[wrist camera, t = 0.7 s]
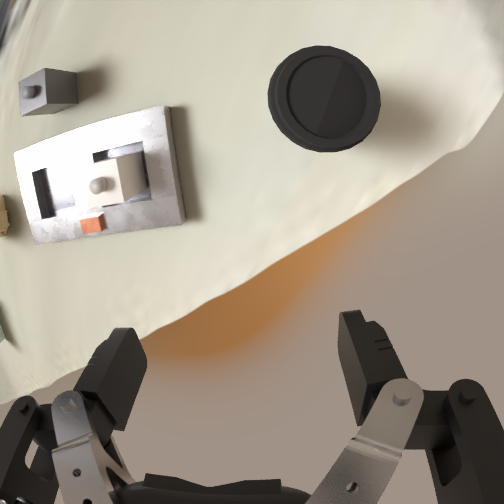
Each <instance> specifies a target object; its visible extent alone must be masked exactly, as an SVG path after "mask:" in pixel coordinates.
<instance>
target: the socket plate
mask: <svg viewBox="0 0 504 504" xmlns="http://www.w3.org/2000/svg"><path fill="white" fill-rule="evenodd" d="M139 151H141V155H142V161H143V167H144V173H145V179H146V184H147V188H145V189H144V190H142V191H141V192H139V193H138V194H136V195H134V196H133V197H131V198H130V199H128V200H127V201H125V202H122V203H117V204H111V205H105V206H100V207H94V208H89V209H88V204H87V200H86V195H85V191H84V186H83V181H82V176H81V171H80V167H83V166H86V165H89V164H92V163H95V162H98V161H101V160H105V159H108V158H112V157H116V156H121V155H125V154H130V153H134V152H139ZM14 156H15V162H16V168H17V173H18V178H19V183H20V188H21V193H22V197H23V201H24V205H25V209H26V213H27V217H28V221H29V225H30V228H31V232H32V235H33V238H34V242H35V245H36V244H43V243H49V242H56V241H62V240H69V239H76V238H83V237H90V236H97V235H105V234H112V233H120V232H127V231H135V230H143V229H152V228H160V227H169V226H177V225H182V224H183V223H184V221H185V220H186V213H185V208H184V202H183V196H182V190H181V183H180V177H179V171H178V164H177V157H176V150H175V143H174V136H173V128H172V121H171V113H170V107H168V106H160V107H155V108H151V109H147V110H142V111H138V112H134V113H130V114H126V115H123V116H119V117H115V118H112V119H108V120H105V121H101V122H98V123H95V124H91V125H88V126H85V127H82V128H79V129H76V130H73V131H70V132H67V133H64V134H62V135H59V136H56V137H54V138H51V139H48V140H46V141H43V142H41V143H38V144H36V145H33V146H31V147H28V148H26V149H24V150H21V151H19V152H17V153H15V154H14Z"/></svg>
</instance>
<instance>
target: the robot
mask: <svg viewBox="0 0 504 504" xmlns="http://www.w3.org/2000/svg"><path fill="white" fill-rule="evenodd" d="M8 211H9V210H8ZM10 224H11V223H10ZM10 224H9V225H10ZM9 225H8V218H7V211H6V209H5V203H4V196H3V195H0V237H2V236H4V235H7V234H6V232H7V229H8V228H10V227H9ZM11 229H13V228H11ZM14 229H15V228H14ZM14 229H13V230H14Z"/></svg>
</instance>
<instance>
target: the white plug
mask: <svg viewBox="0 0 504 504" xmlns="http://www.w3.org/2000/svg"><path fill="white" fill-rule="evenodd" d="M80 171H81V176H82V181H83V186H84V191H85V195H86V200H87V204H88V209H89V208H94V207H100V206H105V205H111V204H117V203H122V202H125V201H127V200H128V199H130V198H131V197H133V196H134V195H136V194H138V193H139V192H141V191H142V190H144V189H145V188H147V184H146V179H145V173H144V167H143V161H142V155H141V151H139V152H134V153H130V154H125V155H121V156H116V157H112V158H108V159H105V160H101V161H98V162H95V163H92V164H89V165H86V166H83V167H80Z"/></svg>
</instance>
